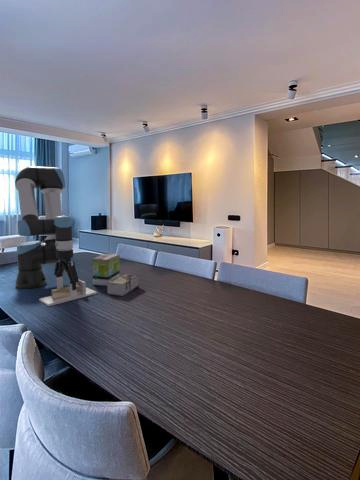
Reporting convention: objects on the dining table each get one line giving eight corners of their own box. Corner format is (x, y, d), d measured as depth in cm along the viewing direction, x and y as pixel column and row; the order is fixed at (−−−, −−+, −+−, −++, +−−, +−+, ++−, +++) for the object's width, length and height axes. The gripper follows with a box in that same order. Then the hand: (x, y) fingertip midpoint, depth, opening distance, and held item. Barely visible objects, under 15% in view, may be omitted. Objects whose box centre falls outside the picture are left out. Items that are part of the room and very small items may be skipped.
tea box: (109, 286, 163) (108, 259, 160) (92, 285, 165) (91, 258, 162) (120, 278, 177) (119, 254, 175) (104, 277, 179) (103, 253, 177)
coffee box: (122, 296, 146) (139, 287, 161) (122, 283, 145) (139, 275, 160) (107, 294, 150) (125, 285, 164) (106, 281, 149) (124, 273, 163)
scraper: (49, 296, 142) (49, 284, 141) (78, 290, 152) (77, 278, 151) (57, 301, 137) (56, 288, 136) (86, 293, 147) (85, 282, 146)
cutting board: (39, 300, 140) (39, 298, 140) (86, 289, 157) (86, 287, 157) (48, 306, 133) (48, 304, 133) (96, 293, 150) (96, 291, 150)
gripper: (45, 246, 147) (47, 289, 150) (69, 254, 130) (71, 301, 133) (60, 245, 152) (62, 285, 155) (85, 251, 135) (87, 297, 138)
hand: (66, 293), depth 144 cm, fingers open, 13 cm apart
